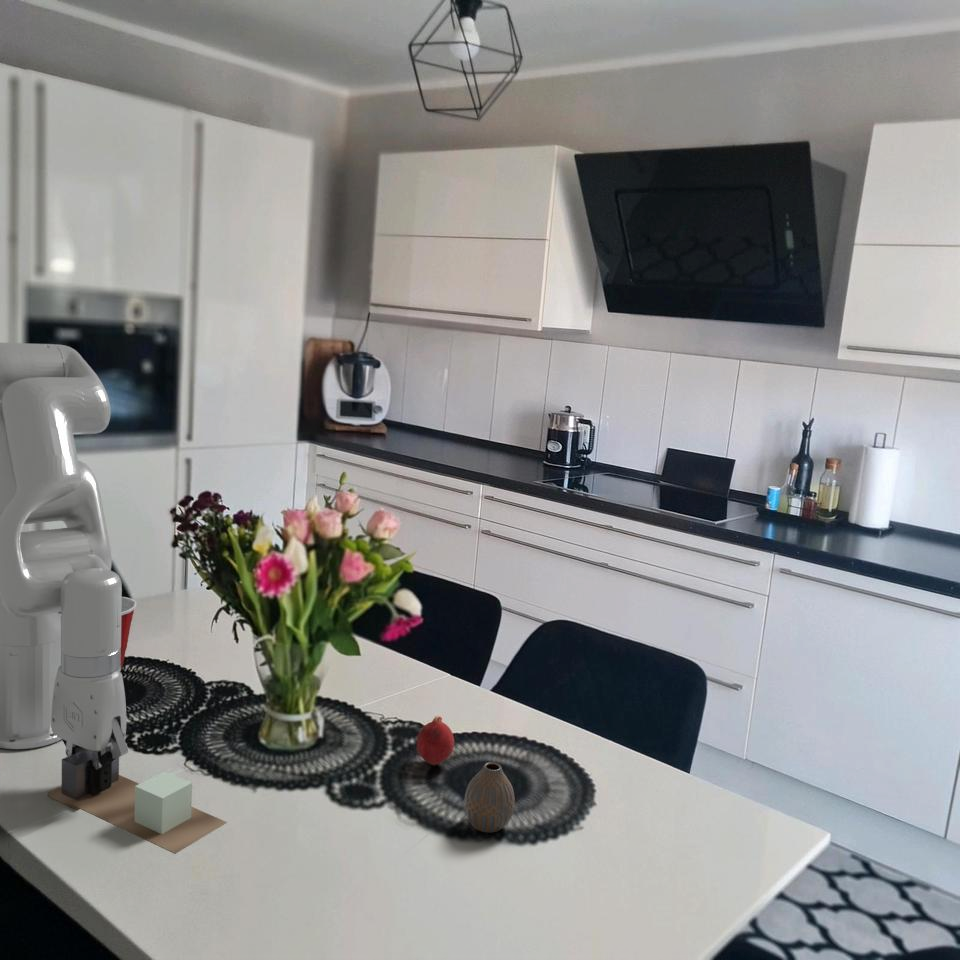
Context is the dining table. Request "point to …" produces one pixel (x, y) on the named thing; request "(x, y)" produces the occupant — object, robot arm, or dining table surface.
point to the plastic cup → (126, 623)
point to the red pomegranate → (435, 741)
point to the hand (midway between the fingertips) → (90, 785)
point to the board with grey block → (124, 804)
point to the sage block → (163, 802)
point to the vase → (489, 799)
